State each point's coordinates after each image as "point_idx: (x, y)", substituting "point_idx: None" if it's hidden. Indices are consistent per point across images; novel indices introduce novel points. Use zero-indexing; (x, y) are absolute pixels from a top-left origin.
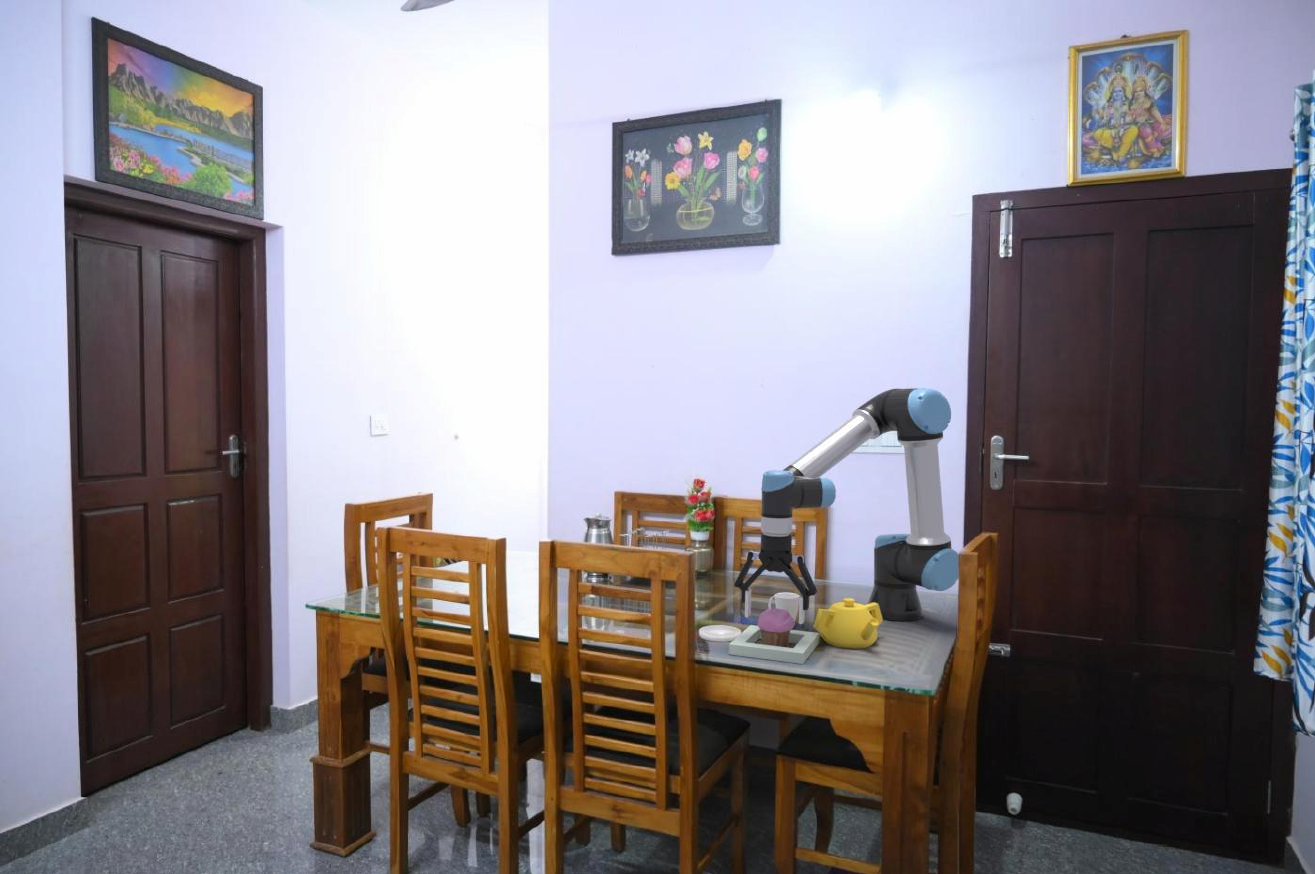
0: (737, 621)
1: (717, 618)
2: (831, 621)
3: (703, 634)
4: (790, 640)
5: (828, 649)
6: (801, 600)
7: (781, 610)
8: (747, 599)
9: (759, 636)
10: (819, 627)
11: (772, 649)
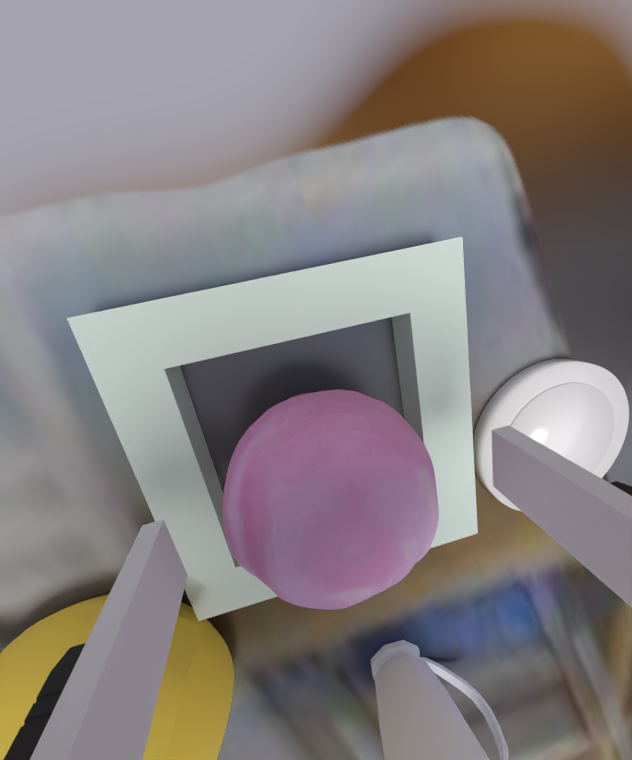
0: (537, 587)
1: None
2: None
3: (599, 366)
4: None
5: (130, 546)
6: (52, 737)
7: (313, 571)
8: (611, 500)
9: None
10: None
11: (240, 284)
